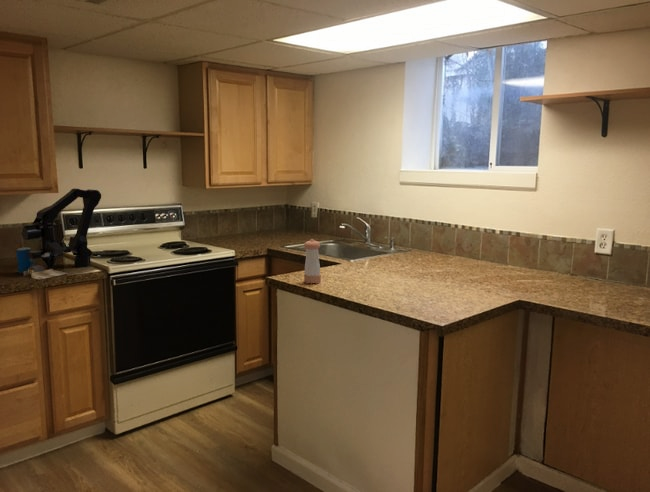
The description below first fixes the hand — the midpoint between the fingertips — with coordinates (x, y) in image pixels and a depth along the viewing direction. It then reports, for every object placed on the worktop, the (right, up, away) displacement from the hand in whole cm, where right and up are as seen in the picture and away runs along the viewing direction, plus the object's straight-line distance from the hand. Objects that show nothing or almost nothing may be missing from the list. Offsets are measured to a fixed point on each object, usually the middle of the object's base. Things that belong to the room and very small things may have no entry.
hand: (51, 270), depth 260 cm
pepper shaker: (+123, -5, -16) cm, 124 cm away
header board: (0, -3, -4) cm, 5 cm away
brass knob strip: (-5, -3, -8) cm, 10 cm away
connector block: (-4, -2, -6) cm, 7 cm away
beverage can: (-12, -2, +2) cm, 13 cm away
